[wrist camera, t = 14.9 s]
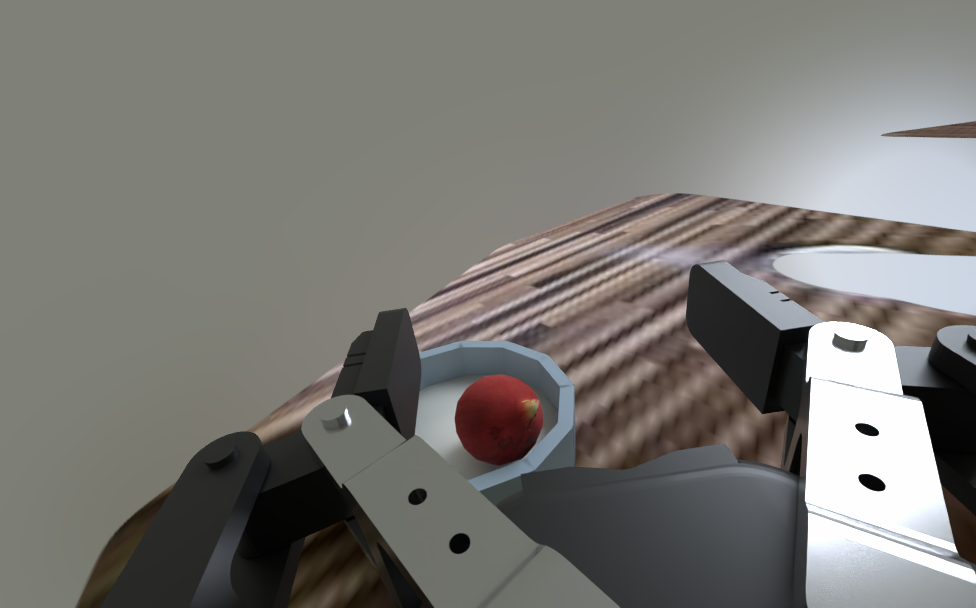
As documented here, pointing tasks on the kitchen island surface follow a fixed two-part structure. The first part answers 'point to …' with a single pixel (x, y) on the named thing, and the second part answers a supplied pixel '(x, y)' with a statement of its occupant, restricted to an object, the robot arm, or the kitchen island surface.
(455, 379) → the faceted shallow dish
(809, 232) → the kitchen island surface
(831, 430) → the robot arm
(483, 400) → the onion
